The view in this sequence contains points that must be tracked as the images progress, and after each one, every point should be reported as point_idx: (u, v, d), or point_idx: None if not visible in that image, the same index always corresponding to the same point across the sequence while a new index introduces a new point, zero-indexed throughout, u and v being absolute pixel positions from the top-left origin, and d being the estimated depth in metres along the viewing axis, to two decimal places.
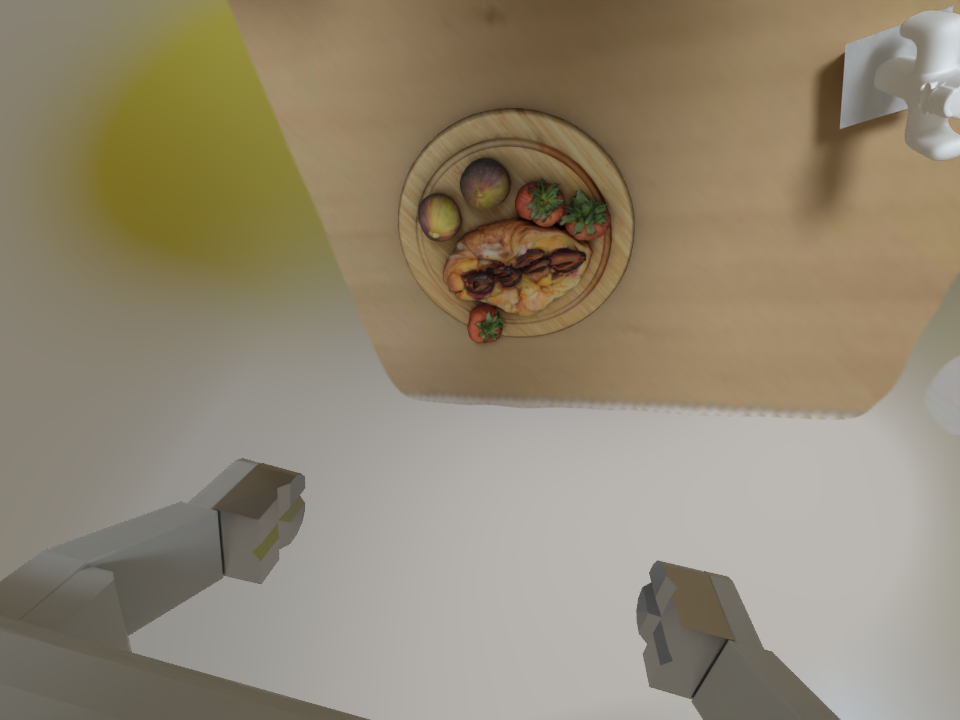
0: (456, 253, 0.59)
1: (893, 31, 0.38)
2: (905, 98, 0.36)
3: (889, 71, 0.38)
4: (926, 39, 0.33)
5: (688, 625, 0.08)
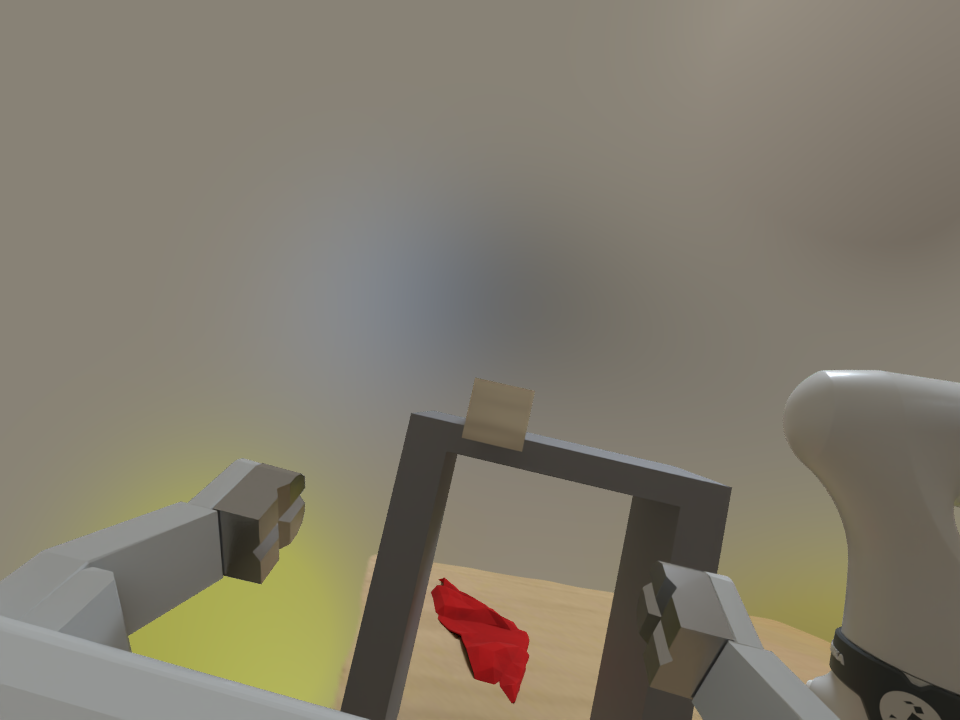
0: None
1: None
2: None
3: None
4: None
5: (688, 625, 0.08)
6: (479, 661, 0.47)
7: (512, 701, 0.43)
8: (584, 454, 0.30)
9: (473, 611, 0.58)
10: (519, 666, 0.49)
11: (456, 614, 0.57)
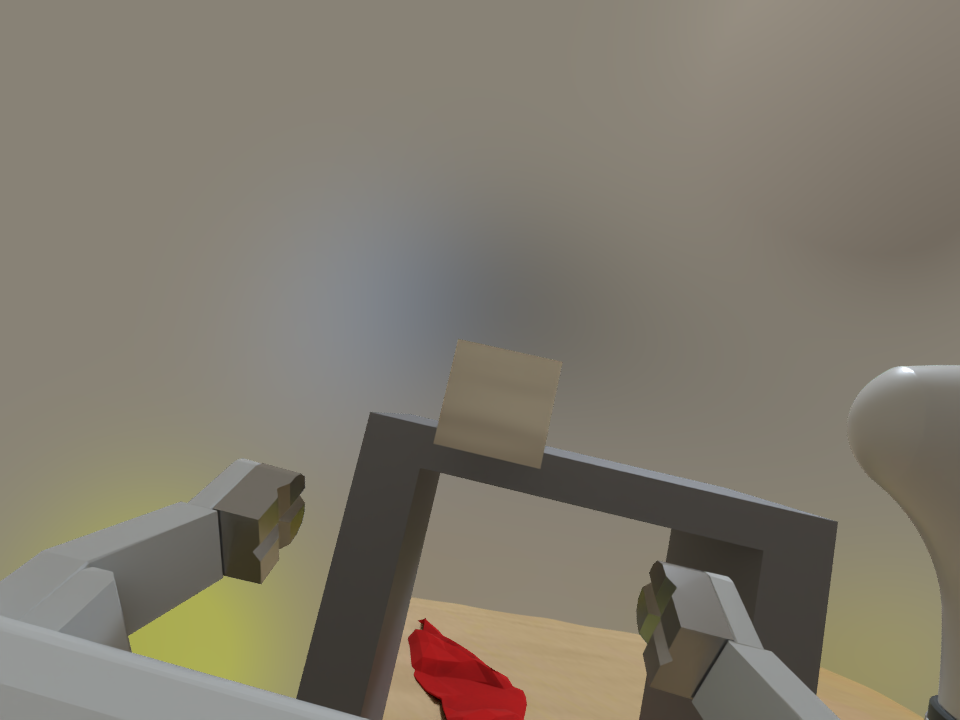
0: None
1: None
2: None
3: None
4: None
5: (688, 625, 0.08)
6: None
7: None
8: (620, 472, 0.21)
9: (458, 664, 0.47)
10: None
11: (436, 668, 0.46)
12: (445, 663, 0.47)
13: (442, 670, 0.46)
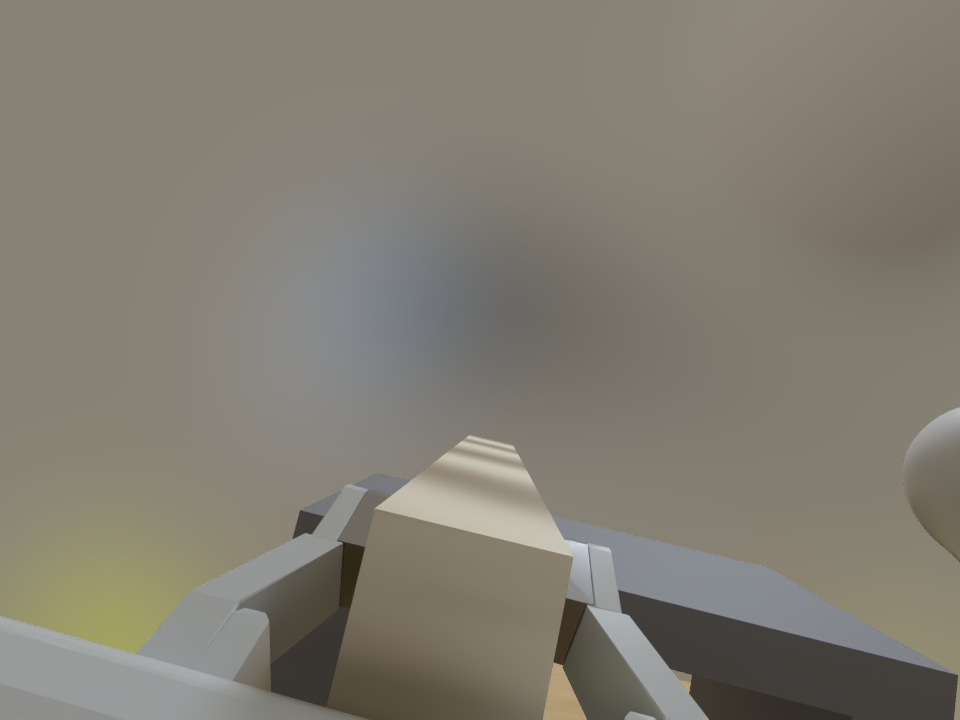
0: None
1: None
2: None
3: None
4: None
5: None
6: None
7: None
8: (648, 599, 0.15)
9: None
10: None
11: None
12: None
13: None
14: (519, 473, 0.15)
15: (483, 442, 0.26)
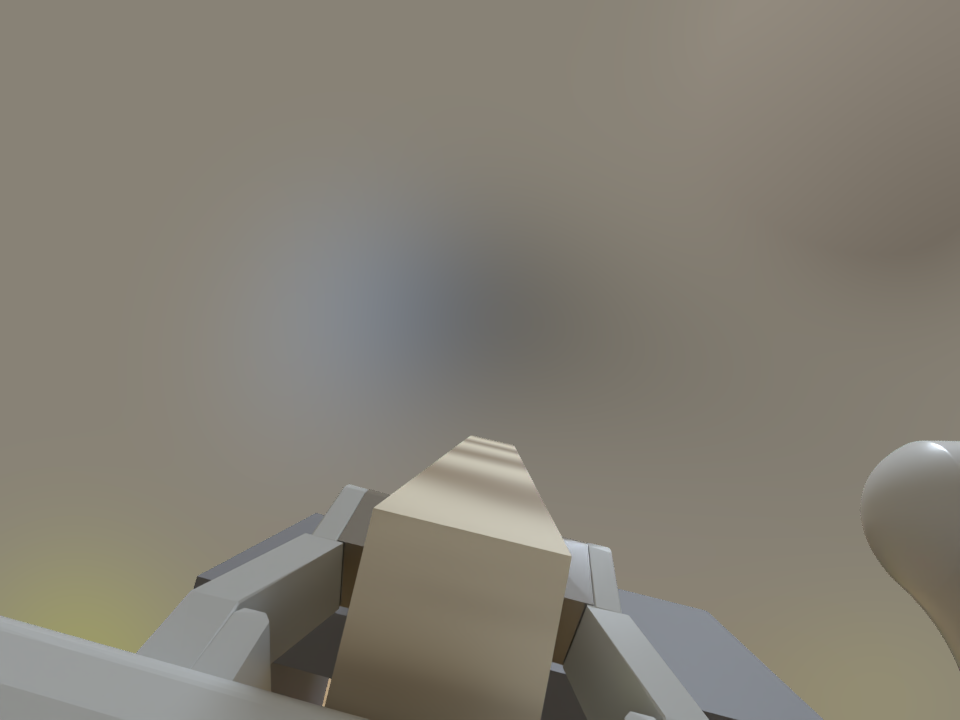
0: None
1: None
2: None
3: None
4: None
5: None
6: None
7: None
8: None
9: None
10: None
11: None
12: None
13: None
14: (519, 473, 0.15)
15: (484, 442, 0.26)
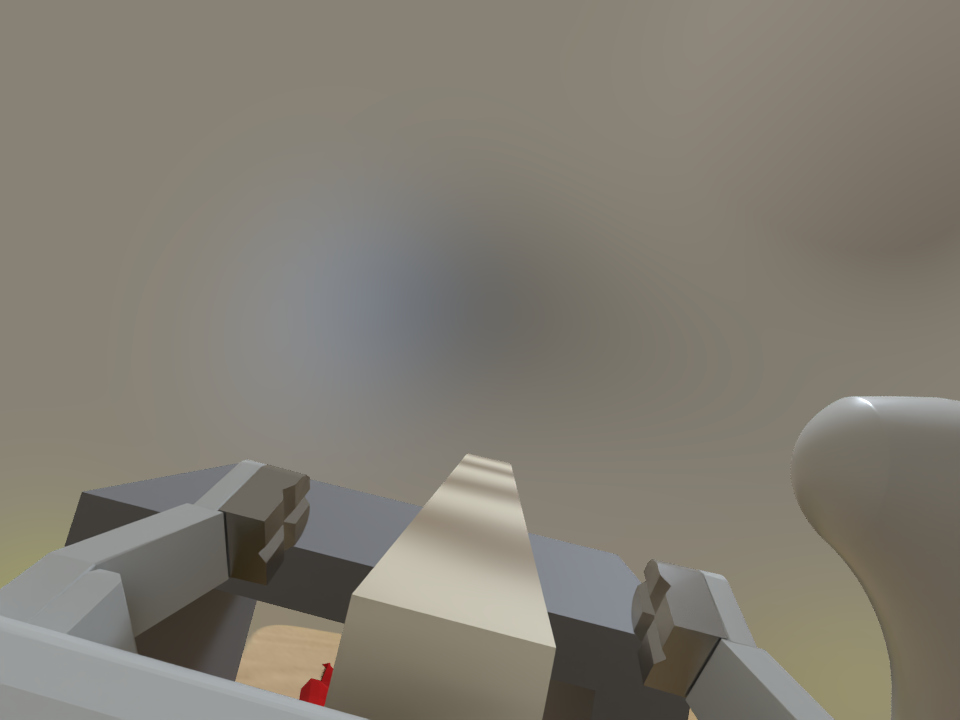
0: None
1: None
2: None
3: None
4: None
5: (681, 623, 0.08)
6: None
7: None
8: None
9: None
10: None
11: None
12: None
13: None
14: (512, 510, 0.15)
15: (480, 463, 0.26)
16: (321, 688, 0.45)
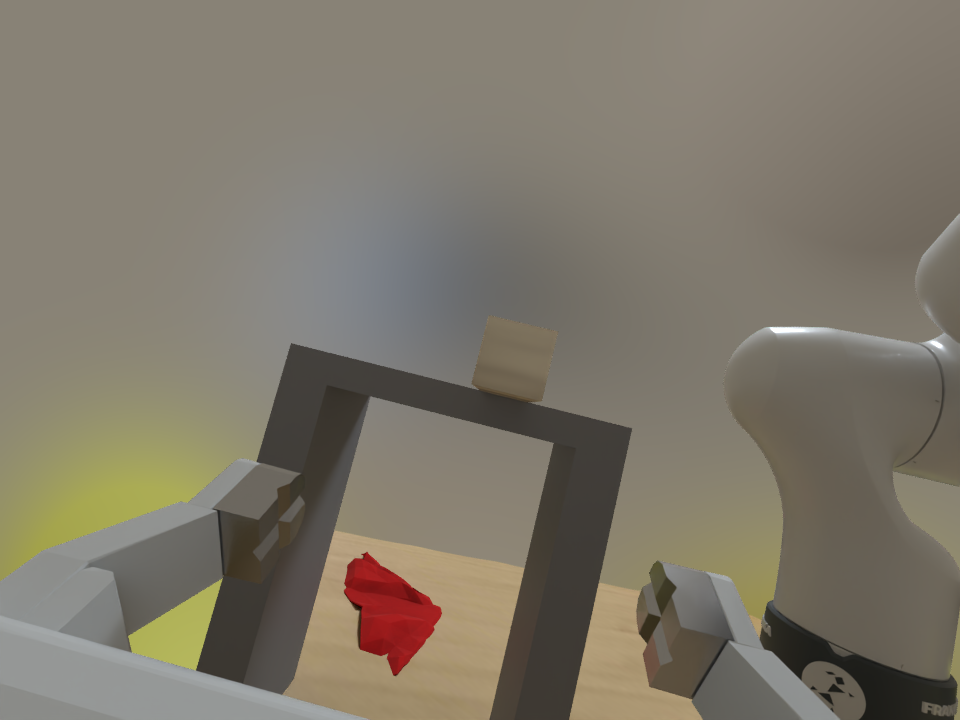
0: None
1: None
2: None
3: None
4: None
5: (688, 625, 0.08)
6: (370, 631, 0.44)
7: (394, 673, 0.39)
8: (475, 390, 0.28)
9: (385, 584, 0.54)
10: (417, 639, 0.45)
11: (364, 586, 0.53)
12: (373, 582, 0.54)
13: (369, 588, 0.53)
14: None
15: None
16: (364, 562, 0.57)
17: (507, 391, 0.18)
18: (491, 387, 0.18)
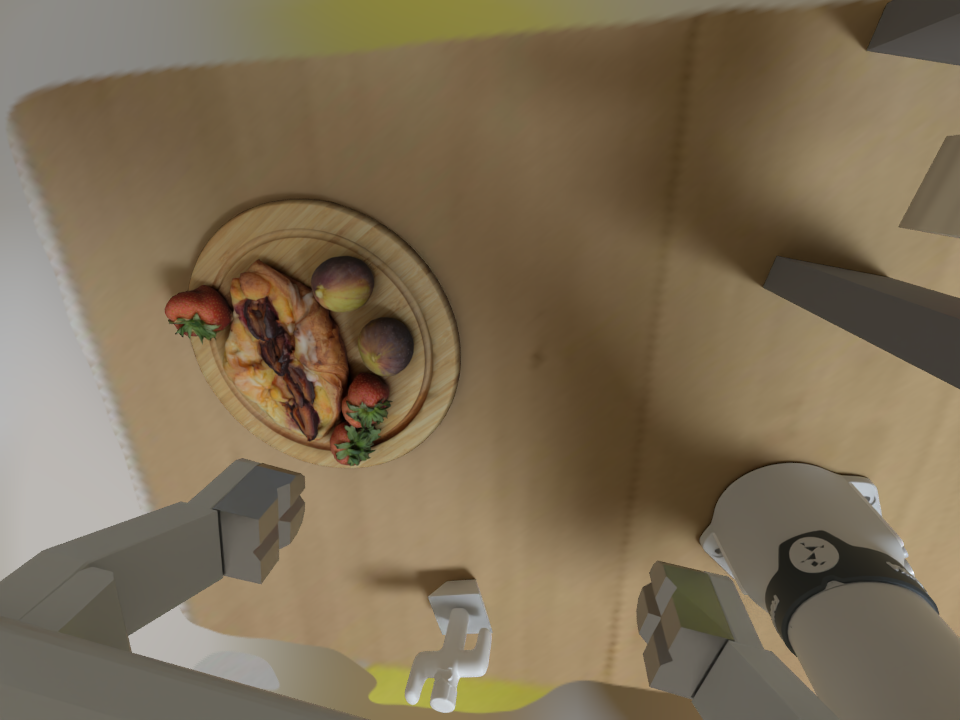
0: (297, 297, 0.44)
1: (483, 612, 0.59)
2: (444, 649, 0.54)
3: (460, 623, 0.57)
4: (476, 660, 0.52)
5: (688, 625, 0.08)
6: None
7: None
8: None
9: None
10: None
11: None
12: None
13: None
14: None
15: None
16: None
17: (922, 184, 0.15)
18: (932, 163, 0.15)
